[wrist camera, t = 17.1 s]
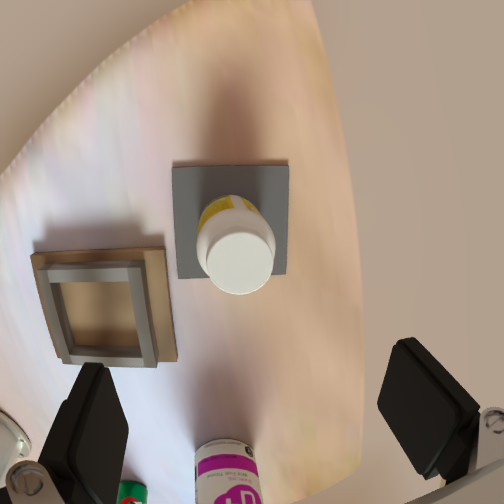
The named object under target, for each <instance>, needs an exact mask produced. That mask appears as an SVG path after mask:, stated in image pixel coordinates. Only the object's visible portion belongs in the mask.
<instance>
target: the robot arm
mask: <svg viewBox="0 0 504 504" xmlns="http://www.w3.org/2000/svg"><path fill="white" fill-rule="evenodd" d="M377 405H378V409H379V411H380V412H381V414H382V416H383V417H384V419H385V420H386V422H387V424H388V425H389V427H390V429H391V430H392V432H393V434H394V435H395V437H396V438H397V440H398V442H399V443H400V445H401V447H402V448H403V450H404V452H405V453H406V455H407V456H408V458H409V460H410V462H411V463H412V465H413V467H414V468H415V470H416V471H417V473H418V474H420V475H423V477H424V479H425V480H428V479H430V478H433V477H435V476H437V475H438V474H440V475H441V477H442V480H441V485H440V488H439V489H437V490H435V491H433V492H431V493H429V494H426V495H424V496H422V497H419V498H417V499H415V500H412V501H410V502H407V503H405V504H504V409H502V408H499V407H490V408H487V409H485V410H484V411H483V412H482V413H481V414H480V413H479V412H478V410H479V408H480V405H479V404H478V403H477V402H476V401H475V400H474V399H473V398H472V397H471V396H470V395H469V393H468V392H467V391H466V390H465V389H464V388H463V387H462V386H461V385H460V384H459V383H458V382H457V381H456V380H455V379H454V377H453V376H452V375H451V374H450V373H449V372H448V371H447V370H446V369H445V368H444V367H443V366H442V365H441V364H440V363H439V362H438V361H437V360H436V359H435V358H434V357H433V356H432V355H431V354H430V352H429V351H428V350H427V349H426V348H425V347H424V346H423V345H422V344H421V343H420V342H419V341H418V340H417V339H416V338H414V337H411V338H405V339H400V340H398V341H397V343H396V345H394V346H393V348H392V352H391V356H390V359H389V363H388V367H387V371H386V374H385V377H384V381H383V384H382V388H381V391H380V394H379V397H378V401H377ZM128 433H129V428H128V423H127V420H126V418H125V415H124V412H123V409H122V406H121V404H120V401H119V398H118V395H117V392H116V389H115V386H114V382H113V379H112V376H111V373H110V370H109V368H108V367H104V365H103V363H98V362H85V363H84V364H83V366H82V368H81V370H80V372H79V374H78V377H77V379H76V381H75V383H74V385H73V387H72V390H71V392H70V394H69V396H68V398H67V400H64V401H63V402H62V404H61V406H60V408H59V411H58V413H57V415H56V417H55V420H54V422H53V424H52V427H51V429H50V432H49V434H48V436H47V439H46V441H45V444H44V446H43V449H42V451H41V454H40V457H39V459H38V462H35V461H29V460H25V461H21V462H18V463H16V462H17V459H18V458H25V457H27V456H29V454H30V452H31V444H30V441H29V440H28V438H27V436H26V435H25V434H24V432H23V431H22V430H21V429H20V428H19V427H18V426H17V425H16V424H15V423H14V422H13V421H12V420H11V419H10V418H8V417H7V416H6V415H4V414H3V413H2V412H0V504H116V503H117V496H118V490H119V483H120V477H121V471H122V466H123V460H124V454H125V449H126V444H127V438H128Z"/></svg>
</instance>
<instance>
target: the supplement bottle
mask: <svg viewBox="0 0 504 504" xmlns="http://www.w3.org/2000/svg"><path fill="white" fill-rule="evenodd" d="M196 249H197V257H198V260H199V263H200V265H201V267H202V269H203V270H204V271H205V273H206V274H207V275H208V276H209V277H210V279H211V280H212V282H213V283H214V284H215V285H216V286H217V287H218V288H220V289H221V290H223V291H225V292H228V293H231V294H240V295H241V294H248V293H251V292H253V291H255V290H257V289H259V288H260V287H262V286H263V285H264V284H265V283H266V281H267V280H268V279H269V277H270V275H271V273H272V270H273V263H274V262H273V260H274V257H275V250H276V243H275V237H274V234H273V232H272V230H271V228H270V226H269V225H268V223H267V222H266V221H265V219H264V218H263V216H262V215H261V214H260V212H259V211H258V210H257V208H256V207H255V206H254V205H253V204H252V203H251V202H250V201H248V200H247V199H245V198H243V197H240V196H237V195H224V196H220V197H218V198H216V199H214V200H212V201H211V202H210V203H209V204H208V205H207V206H206V207H205V208H204V210H203V212H202V214H201V216H200V220H199V226H198V234H197V244H196Z"/></svg>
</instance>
